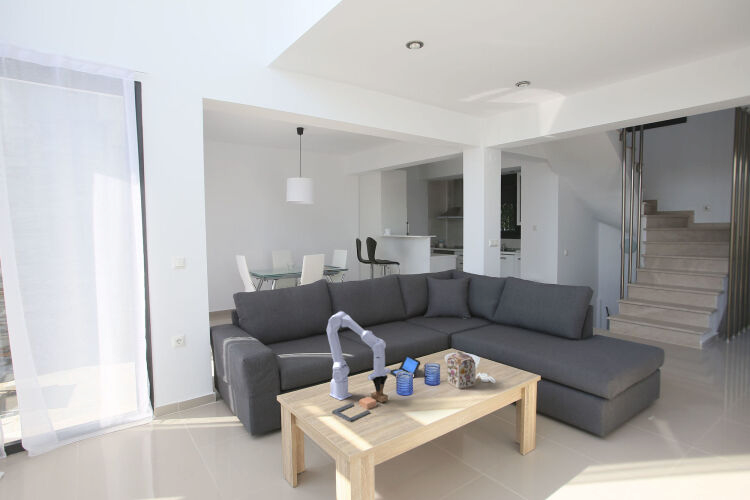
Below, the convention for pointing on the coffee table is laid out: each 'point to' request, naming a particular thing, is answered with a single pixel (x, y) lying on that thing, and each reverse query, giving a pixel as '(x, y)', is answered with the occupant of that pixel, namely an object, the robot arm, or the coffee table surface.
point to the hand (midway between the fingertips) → (379, 390)
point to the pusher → (379, 395)
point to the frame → (337, 412)
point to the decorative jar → (461, 370)
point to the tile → (367, 402)
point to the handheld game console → (407, 366)
